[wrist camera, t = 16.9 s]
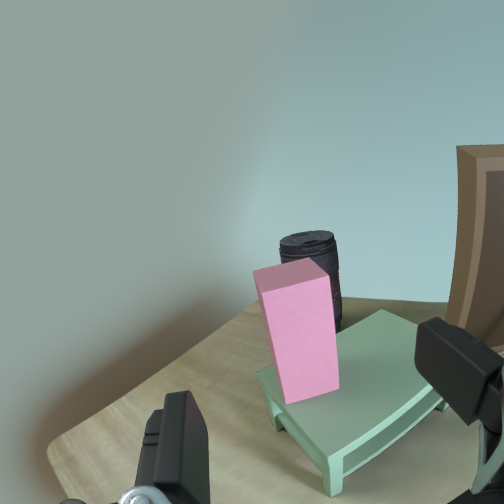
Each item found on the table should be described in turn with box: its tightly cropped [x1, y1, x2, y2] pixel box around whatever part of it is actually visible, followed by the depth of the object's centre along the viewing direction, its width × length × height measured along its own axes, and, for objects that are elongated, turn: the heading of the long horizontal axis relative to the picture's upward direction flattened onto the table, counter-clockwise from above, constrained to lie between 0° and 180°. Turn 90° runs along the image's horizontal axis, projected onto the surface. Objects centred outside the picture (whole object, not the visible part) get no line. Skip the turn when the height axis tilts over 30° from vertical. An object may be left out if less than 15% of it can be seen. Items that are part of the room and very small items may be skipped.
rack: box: [256, 309, 449, 497], centre depth 24 cm, size 16×12×8 cm
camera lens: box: [279, 230, 342, 333], centre depth 42 cm, size 8×8×15 cm
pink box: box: [253, 257, 339, 404], centre depth 22 cm, size 4×4×10 cm
